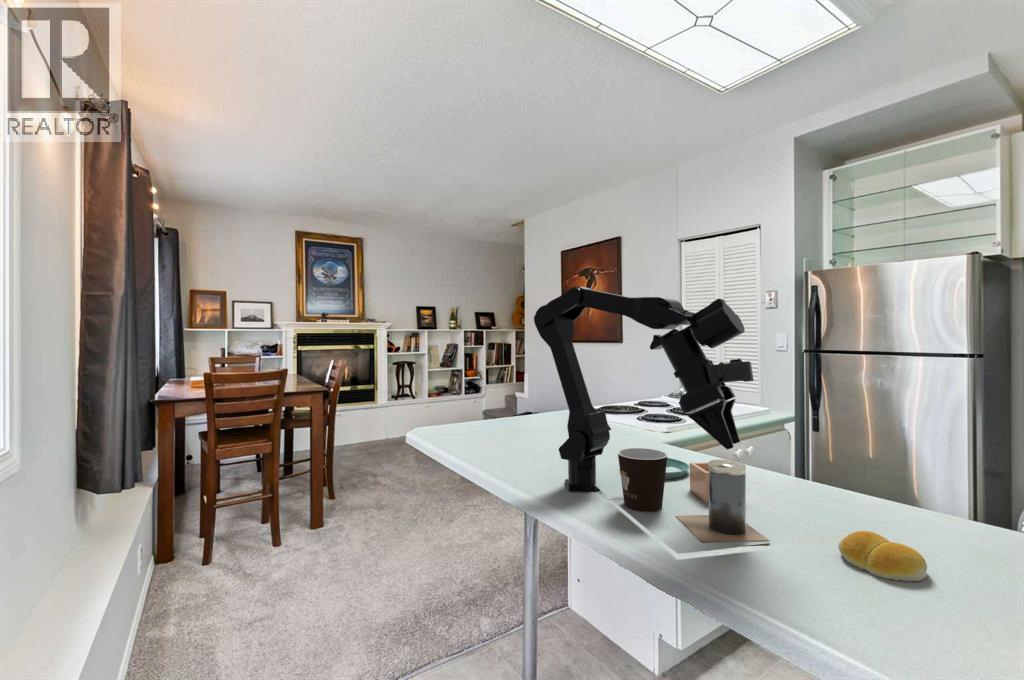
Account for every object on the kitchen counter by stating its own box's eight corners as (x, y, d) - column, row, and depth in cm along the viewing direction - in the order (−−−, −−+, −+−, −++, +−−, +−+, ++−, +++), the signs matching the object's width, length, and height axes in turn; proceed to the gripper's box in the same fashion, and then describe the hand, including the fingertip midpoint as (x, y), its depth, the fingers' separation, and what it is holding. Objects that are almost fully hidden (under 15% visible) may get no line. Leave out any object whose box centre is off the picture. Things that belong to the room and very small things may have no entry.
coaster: (675, 520, 77) (675, 515, 77) (734, 519, 77) (734, 514, 77) (701, 547, 67) (701, 541, 67) (769, 545, 67) (769, 540, 67)
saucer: (700, 484, 97) (700, 472, 97) (631, 485, 97) (630, 472, 97) (675, 466, 111) (675, 455, 111) (615, 466, 111) (615, 455, 111)
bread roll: (903, 590, 55) (902, 557, 55) (828, 558, 64) (828, 529, 64) (944, 577, 58) (943, 545, 58) (867, 547, 67) (867, 520, 67)
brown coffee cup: (671, 519, 77) (670, 460, 77) (619, 516, 79) (618, 458, 79) (663, 496, 89) (662, 445, 89) (617, 494, 90) (616, 443, 90)
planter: (690, 493, 91) (689, 462, 91) (725, 492, 91) (724, 462, 91) (705, 505, 84) (705, 472, 84) (743, 505, 84) (743, 472, 84)
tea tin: (705, 519, 75) (705, 458, 75) (740, 522, 74) (740, 460, 73) (712, 533, 70) (712, 467, 69) (749, 536, 69) (750, 469, 68)
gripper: (726, 333, 69) (782, 431, 64) (739, 344, 85) (785, 423, 80) (659, 366, 74) (706, 459, 69) (683, 370, 90) (723, 446, 85)
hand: (733, 445), depth 75 cm, fingers open, 9 cm apart
